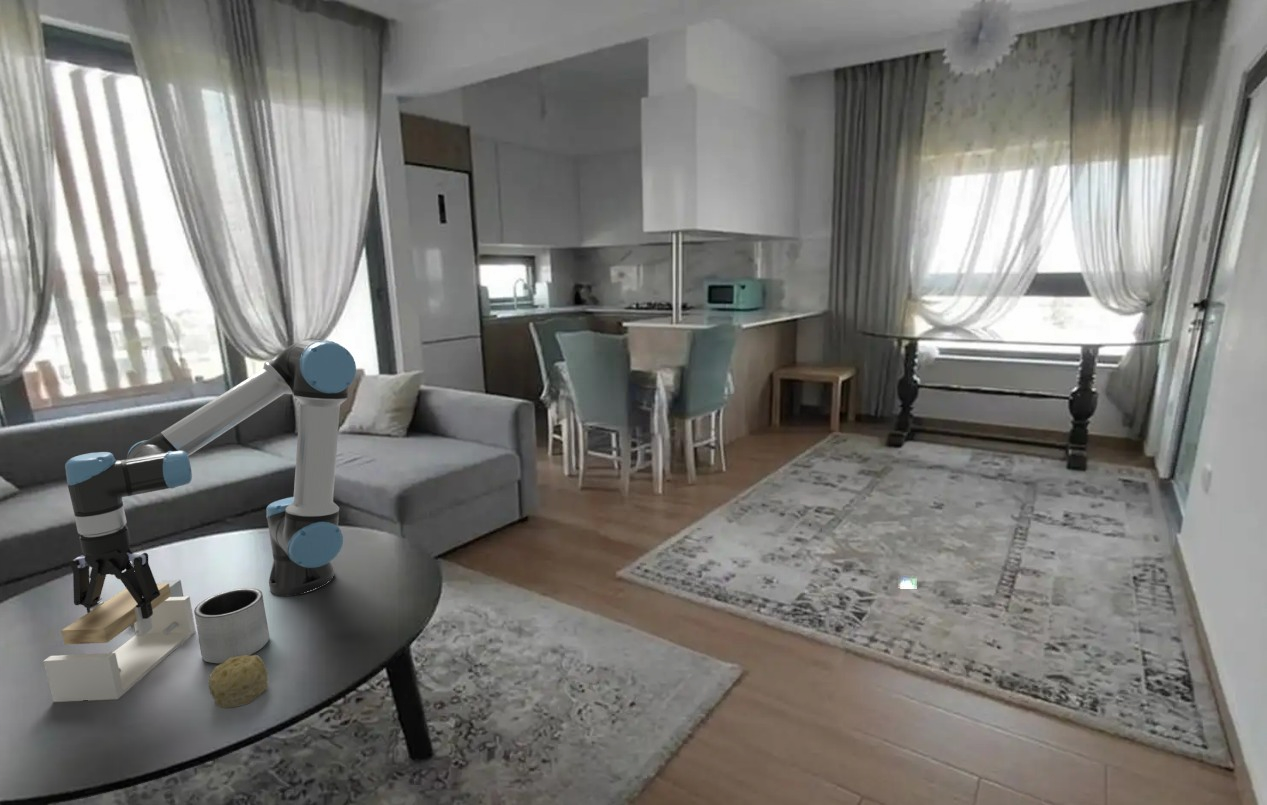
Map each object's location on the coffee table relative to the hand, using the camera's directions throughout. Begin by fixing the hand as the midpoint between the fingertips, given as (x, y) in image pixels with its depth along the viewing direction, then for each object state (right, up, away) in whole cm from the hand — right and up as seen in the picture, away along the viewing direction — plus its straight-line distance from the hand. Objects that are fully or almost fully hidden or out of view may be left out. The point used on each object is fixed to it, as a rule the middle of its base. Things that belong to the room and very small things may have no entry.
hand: (124, 632), depth 129 cm
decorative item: (+30, -9, -9) cm, 33 cm away
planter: (+19, -6, +6) cm, 21 cm away
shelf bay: (0, -7, +1) cm, 7 cm away
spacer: (-10, -3, +23) cm, 25 cm away
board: (0, +3, -1) cm, 3 cm away
